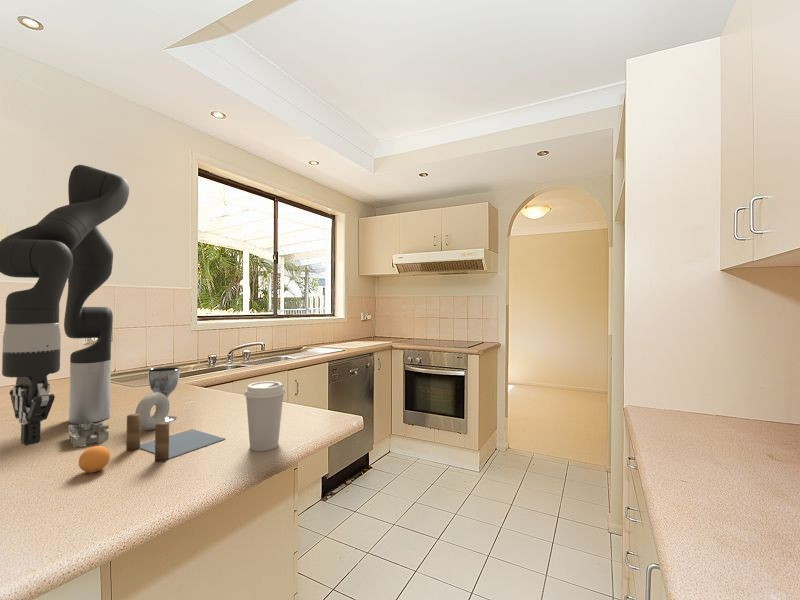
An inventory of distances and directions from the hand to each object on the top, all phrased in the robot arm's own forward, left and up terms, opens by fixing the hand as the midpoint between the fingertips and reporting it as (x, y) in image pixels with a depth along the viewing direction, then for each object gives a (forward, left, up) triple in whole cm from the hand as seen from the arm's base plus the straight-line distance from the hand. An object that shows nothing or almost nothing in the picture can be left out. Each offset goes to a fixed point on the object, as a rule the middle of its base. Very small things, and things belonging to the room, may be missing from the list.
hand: (30, 443), depth 67 cm
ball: (0, +10, -7) cm, 12 cm away
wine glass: (-23, +36, -9) cm, 44 cm away
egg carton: (-23, +17, -10) cm, 30 cm away
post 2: (+6, +20, -9) cm, 23 cm away
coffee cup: (+19, +37, -9) cm, 42 cm away
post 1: (-6, +20, -9) cm, 23 cm away
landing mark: (0, +28, -9) cm, 29 cm away
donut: (-17, +30, -9) cm, 36 cm away
